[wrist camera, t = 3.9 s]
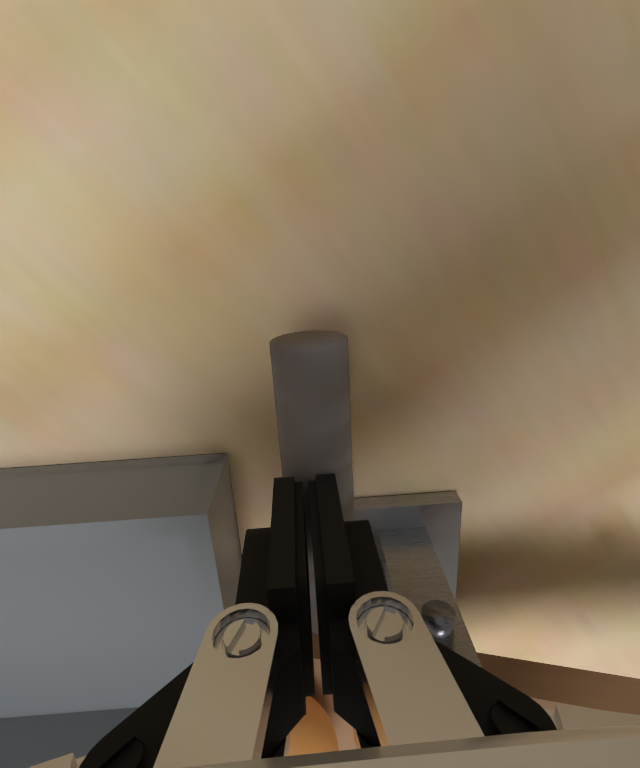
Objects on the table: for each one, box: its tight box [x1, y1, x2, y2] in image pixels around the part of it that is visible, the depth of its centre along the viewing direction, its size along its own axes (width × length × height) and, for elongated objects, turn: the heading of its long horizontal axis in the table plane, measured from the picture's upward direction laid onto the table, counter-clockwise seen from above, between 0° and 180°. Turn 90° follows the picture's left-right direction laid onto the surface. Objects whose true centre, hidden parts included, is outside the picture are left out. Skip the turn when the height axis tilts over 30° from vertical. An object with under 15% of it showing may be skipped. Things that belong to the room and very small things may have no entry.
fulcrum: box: [354, 491, 482, 668], centre depth 17 cm, size 5×9×7 cm, turn 3°
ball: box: [289, 696, 339, 756], centre depth 14 cm, size 4×4×4 cm
